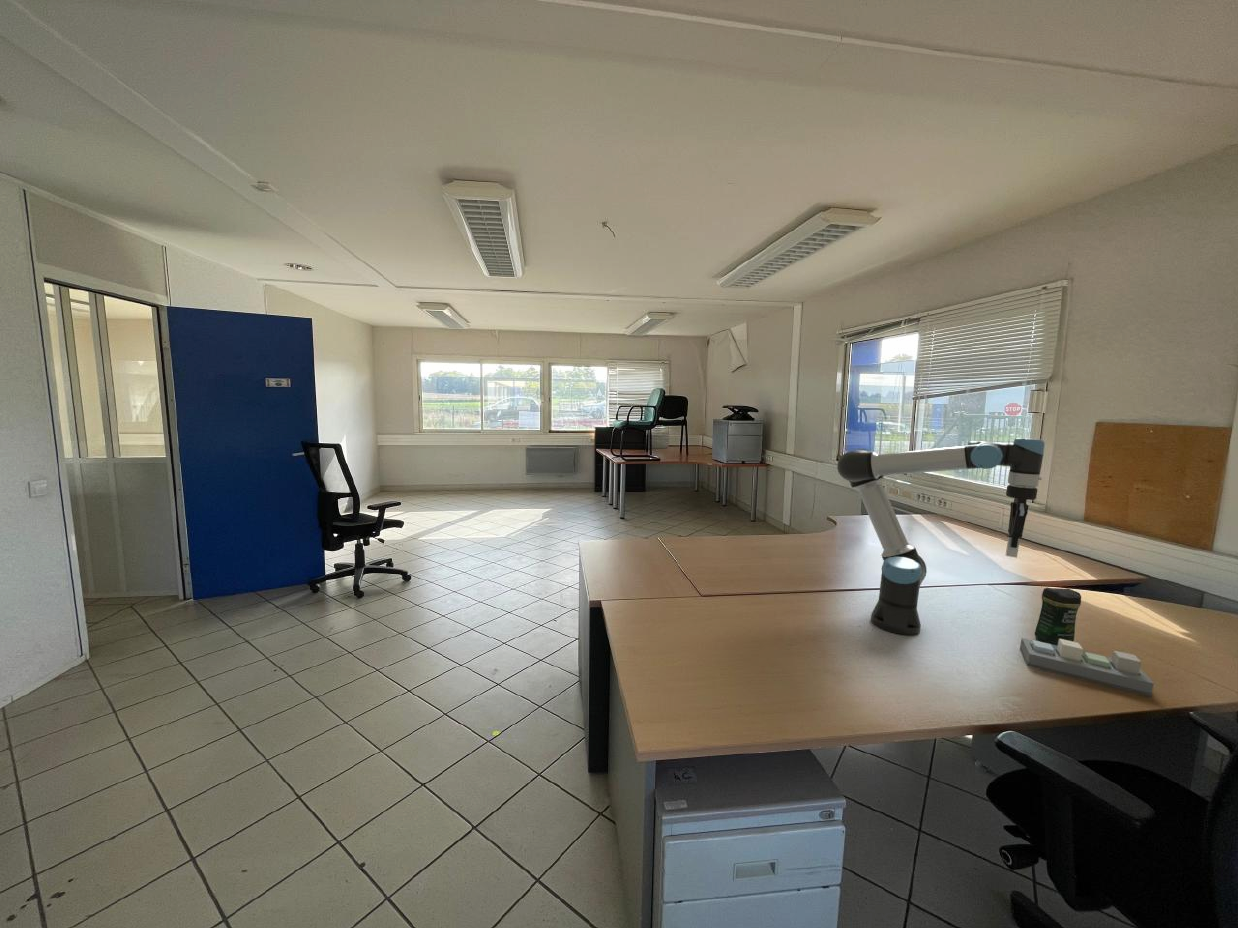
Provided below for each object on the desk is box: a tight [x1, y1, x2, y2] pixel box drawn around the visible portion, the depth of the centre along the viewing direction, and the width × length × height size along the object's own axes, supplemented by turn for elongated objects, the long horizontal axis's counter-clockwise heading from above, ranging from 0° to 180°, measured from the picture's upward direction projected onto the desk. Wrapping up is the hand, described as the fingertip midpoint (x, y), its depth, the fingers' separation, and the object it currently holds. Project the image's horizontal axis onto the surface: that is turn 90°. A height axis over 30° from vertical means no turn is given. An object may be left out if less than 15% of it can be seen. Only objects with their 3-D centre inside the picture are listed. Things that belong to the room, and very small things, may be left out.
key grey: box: [1111, 650, 1142, 675], centre depth 134 cm, size 4×4×4 cm
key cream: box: [1057, 639, 1084, 661], centre depth 141 cm, size 4×4×4 cm
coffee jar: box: [1034, 587, 1082, 646], centre depth 157 cm, size 10×8×19 cm
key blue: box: [1031, 639, 1054, 655], centre depth 144 cm, size 4×4×4 cm
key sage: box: [1083, 651, 1110, 668], centre depth 138 cm, size 4×4×4 cm
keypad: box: [1019, 637, 1155, 698], centre depth 140 cm, size 26×12×4 cm, turn 58°
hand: (1011, 556), depth 154 cm, fingers closed
